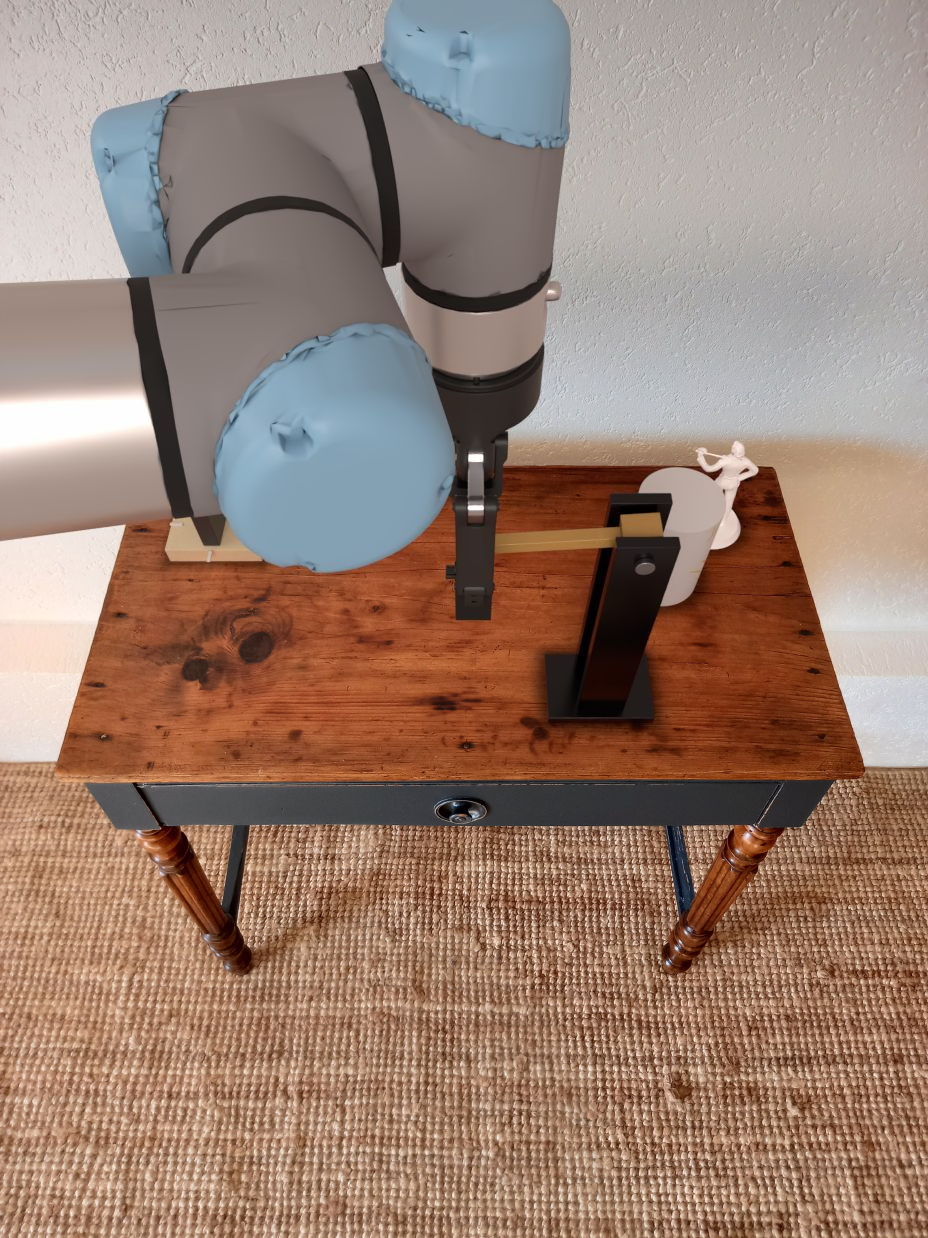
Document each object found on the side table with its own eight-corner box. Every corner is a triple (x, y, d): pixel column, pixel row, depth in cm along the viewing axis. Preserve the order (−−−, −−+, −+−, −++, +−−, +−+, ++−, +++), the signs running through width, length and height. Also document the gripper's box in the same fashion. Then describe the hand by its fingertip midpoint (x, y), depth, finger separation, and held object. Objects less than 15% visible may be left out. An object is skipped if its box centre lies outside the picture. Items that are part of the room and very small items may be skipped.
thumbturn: (220, 546, 85) (197, 494, 78) (203, 546, 85) (179, 493, 78) (229, 503, 89) (209, 449, 82) (213, 503, 89) (191, 449, 82)
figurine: (736, 501, 91) (769, 421, 81) (744, 550, 87) (779, 474, 77) (672, 498, 91) (697, 418, 81) (677, 547, 87) (704, 470, 77)
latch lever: (466, 582, 58) (462, 562, 56) (466, 529, 61) (463, 508, 59) (662, 572, 57) (666, 552, 55) (653, 518, 60) (657, 497, 58)
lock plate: (166, 573, 86) (159, 561, 84) (184, 501, 92) (179, 488, 90) (261, 573, 86) (256, 561, 84) (273, 500, 91) (269, 488, 90)
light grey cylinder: (701, 606, 83) (732, 533, 73) (622, 605, 83) (643, 532, 73) (690, 544, 87) (719, 467, 77) (616, 543, 88) (634, 466, 78)
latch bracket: (547, 723, 76) (577, 559, 54) (543, 659, 80) (570, 482, 58) (652, 723, 76) (724, 559, 54) (644, 659, 80) (708, 482, 58)
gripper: (555, 460, 39) (525, 687, 58) (537, 240, 48) (517, 498, 68) (399, 459, 39) (421, 687, 58) (413, 240, 48) (428, 498, 68)
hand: (473, 585), depth 63 cm, fingers closed on latch lever, 5 cm apart
